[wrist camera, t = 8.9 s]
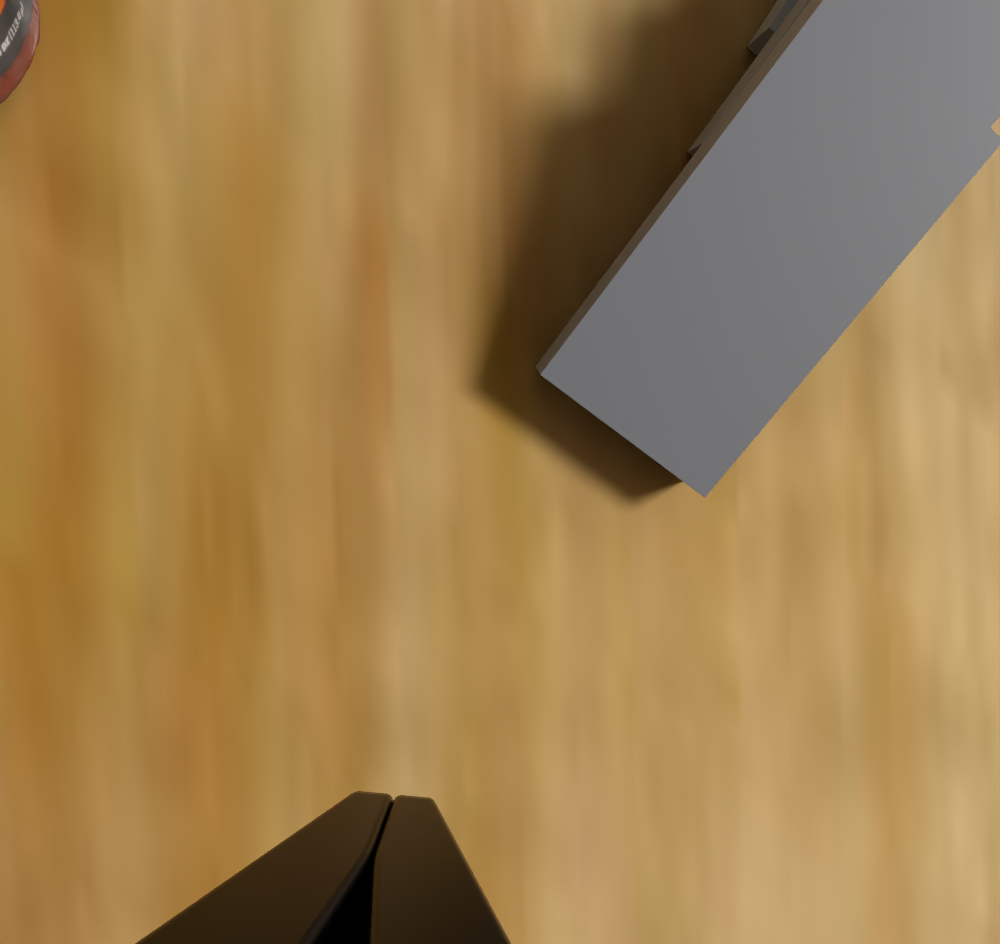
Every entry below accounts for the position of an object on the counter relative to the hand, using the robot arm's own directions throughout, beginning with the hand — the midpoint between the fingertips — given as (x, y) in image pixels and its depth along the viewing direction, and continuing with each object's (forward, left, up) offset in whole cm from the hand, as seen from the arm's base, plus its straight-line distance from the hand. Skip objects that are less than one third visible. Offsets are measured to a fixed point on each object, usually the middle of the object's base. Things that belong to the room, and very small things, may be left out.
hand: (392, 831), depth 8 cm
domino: (+8, -4, -9) cm, 13 cm away
